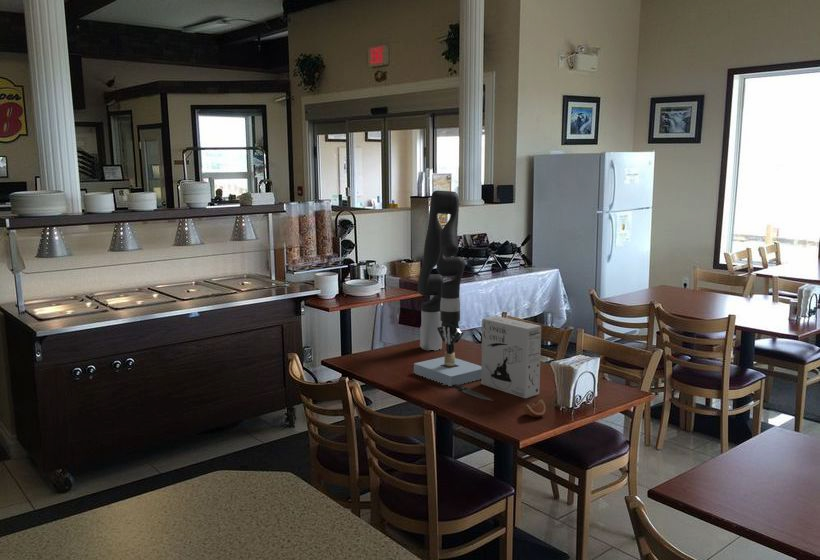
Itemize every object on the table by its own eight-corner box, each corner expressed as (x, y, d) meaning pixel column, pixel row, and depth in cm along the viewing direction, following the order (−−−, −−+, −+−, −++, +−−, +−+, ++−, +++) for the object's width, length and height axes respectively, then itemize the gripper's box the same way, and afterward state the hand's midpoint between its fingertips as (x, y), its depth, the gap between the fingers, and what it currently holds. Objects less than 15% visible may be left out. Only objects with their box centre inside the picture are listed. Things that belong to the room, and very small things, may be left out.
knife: (486, 404, 237) (497, 401, 240) (486, 401, 237) (497, 398, 240) (439, 385, 258) (450, 382, 261) (439, 382, 258) (450, 380, 261)
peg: (442, 375, 269) (442, 352, 268) (450, 373, 271) (450, 351, 270) (449, 377, 266) (449, 355, 264) (457, 375, 268) (457, 353, 267)
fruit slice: (532, 422, 220) (533, 406, 219) (516, 416, 225) (517, 401, 224) (549, 416, 225) (550, 401, 224) (533, 410, 230) (534, 396, 229)
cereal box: (480, 384, 258) (481, 318, 254) (494, 380, 263) (496, 315, 259) (525, 399, 241) (527, 328, 237) (539, 394, 246) (541, 325, 242)
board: (413, 373, 272) (413, 363, 271) (448, 365, 283) (448, 355, 282) (451, 387, 255) (451, 376, 254) (486, 378, 266) (486, 367, 265)
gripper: (469, 310, 262) (468, 355, 264) (446, 305, 272) (446, 348, 275) (454, 312, 257) (454, 358, 260) (431, 307, 267) (431, 351, 270)
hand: (449, 353), depth 267 cm, fingers closed
